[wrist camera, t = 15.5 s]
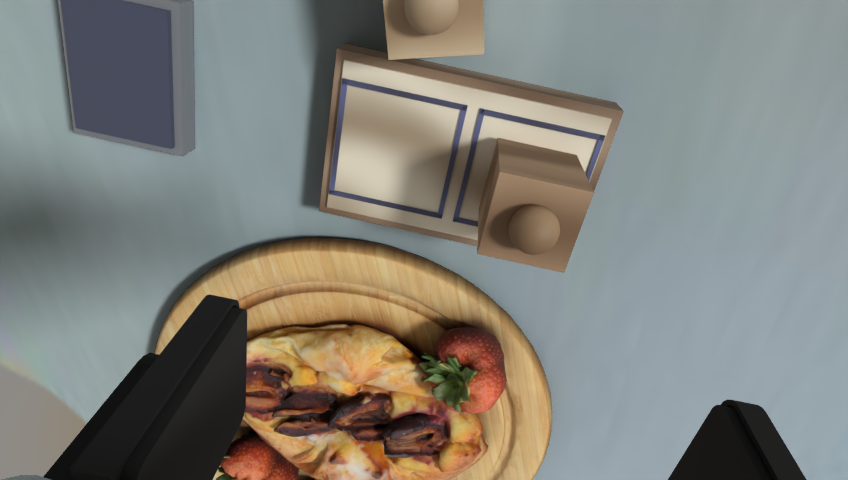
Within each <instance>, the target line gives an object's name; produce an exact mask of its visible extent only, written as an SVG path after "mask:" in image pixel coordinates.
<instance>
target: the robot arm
mask: <svg viewBox="0 0 848 480" xmlns="http://www.w3.org/2000/svg"><path fill="white" fill-rule="evenodd" d="M246 366H247V310H246V309H242V308H239V302H238V301H237V300H235V299H230V298H225V297H220V296H215V295H210V294H209V295H206V296H205V297H204V298H203V300H202V301H201V302H200V304H199V305H198V306H197V307H196V309H195V310H194V311H193V313H192V314H191V315H190V316H189V318H188V319H187V320H186V321H185V323H184V324H183V325H182V327H181V328H180V329H179V330H178V332H177V333H176V334H175V335H174V337H173V338H172V339H171V341H170V342H169V343H168V344H167V346H166V347H165V348H164V350H163V351H162V352H161V353H160V355H159V354H153V353H149V354H146V355H144V356H143V357H142V358H141V359H140V360H139V361H138V362H137V363H136V365H135V366H134V367H133V368H132V370H131V371H130V372H129V373H128V374H127V376H126V377H125V378H124V379H123V381H122V382H121V383H120V384H119V385H118V387H117V388H116V389H115V390H114V391H113V393H112V394H111V395H110V396H109V398H108V399H107V400H106V401H105V402H104V404H103V405H102V406H101V407H100V409H99V410H98V411H97V412H96V413H95V415H94V416H93V417H92V418H91V419H90V421H89V422H88V423H87V424H86V426H85V427H84V428H83V429H82V430H81V432H80V433H79V434H78V435H77V437H76V438H75V439H74V440H73V442H72V443H71V444H70V445H69V446H68V447H67V449H66V450H65V451H64V452H63V454H62V455H61V456H60V457H59V459H58V460H57V461H56V462H55V463H54V465H53V466H52V467H51V468H50V470H49V471H48V472H47V473H46V474H45V475H44V477H41V476H37V475H23V476H22V475H20V476H15V477H11V478H7V479H2V480H213V478H214V476H215V474H216V472H217V470H218V468H219V466H220V464H221V462H222V460H223V458H224V456H225V454H226V452H227V450H228V448H229V446H230V444H231V442H232V440H233V438H234V436H235V434H236V432H237V430H238V428H239V426H240V424H241V422H242V419H243V416H244V413H245V408H246ZM668 480H806V478H805V477H804V475H803V473H802V472H801V470H800V468H799V467H798V465H797V463H796V462H795V460H794V458H793V457H792V455H791V453H790V452H789V450H788V448H787V447H786V445H785V443H784V442H783V440H782V438H781V437H780V435H779V433H778V432H777V430H776V428H775V427H774V425H773V423H772V422H771V420H770V418H769V417H768V415H767V413H766V412H765V411H764V409H763V408H762V407H760V406H758V405H754V404H749V403H744V402H739V401H734V400H726V401H724V402H723V403H722V404H721V405H716V406H714V407H713V408H712V410H711V411H710V413H709V414H708V416H707V418H706V419H705V421H704V423H703V424H702V426H701V427H700V429H699V431H698V432H697V434H696V435H695V437H694V439H693V440H692V442H691V443H690V445H689V447H688V448H687V450H686V452H685V453H684V455H683V456H682V458H681V460H680V461H679V463H678V464H677V466H676V468H675V469H674V471H673V472H672V474H671V476H670V477H669V479H668Z"/></svg>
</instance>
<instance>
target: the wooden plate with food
mask: <svg viewBox="0 0 848 480" xmlns="http://www.w3.org/2000/svg"><path fill="white" fill-rule="evenodd" d="M209 294H210V295H215V296H220V297H225V298H230V299H235V300H237V301H238V302H239V308H242V309H246V310H247V366H246V408H245V413H244V416H243V419H242V422H241V424H240V426H239V428H238V430H237V432H236V434H235V436H234V438H233V440H232V442H231V444H230V446H229V448H228V450H227V452H226V454H225V456H224V458H223V460H222V462H221V464H220V466H219V468H218V470H217V472H216V474H215V476H214V478H213V480H532V479H533V478H534V476H535V475H536V474H537V472H538V470H539V468H540V466H541V464H542V462H543V459H544V457H545V454H546V451H547V448H548V445H549V440H550V435H551V427H552V403H551V394H550V389H549V386H548V382H547V379H546V375H545V372H544V370H543V367H542V365H541V362H540V360H539V358H538V356H537V354H536V352H535V350H534V348H533V346H532V344H531V343H530V342H529V340H528V339H527V337H526V336H525V335H524V333H523V332H522V330H521V329H520V328H519V326H518V325H517V324H516V323H515V321H514V320H513V319H512V318H511V316H510V315H509V314H508V313H507V312H506V311H505V310H504V309H503V308H501V307H500V306H499V305H498V304H497V303H496V302H495V301H494V300H493V299H491V298H490V297H489V296H488V295H487V294H486V293H484V292H483V291H482V290H480V289H479V288H478V287H476V286H475V285H474V284H472V283H471V282H469V281H468V280H466V279H465V278H463V277H462V276H460V275H458V274H457V273H455V272H453V271H451V270H449V269H447V268H445V267H443V266H441V265H439V264H437V263H435V262H433V261H431V260H428V259H426V258H424V257H421V256H418V255H415V254H412V253H410V252H407V251H404V250H401V249H398V248H395V247H392V246H387V245H383V244H378V243H373V242H368V241H361V240H352V239H340V238H303V239H292V240H286V241H280V242H275V243H270V244H267V245H263V246H260V247H256V248H254V249H251V250H248V251H245V252H242V253H240V254H238V255H236V256H234V257H232V258H230V259H228V260H226V261H224V262H222V263H220V264H218V265H217V266H215V267H214V268H212V269H211V270H209V271H208V272H206V273H205V274H203V275H202V276H201V277H200V278H199V279H197V280H196V281H195V282H194V283H193V284H191V285H190V286H189V287H188V288H187V290H186V291H185V292H184V293H183V294H182V295H181V296H180V298H179V299H178V300H177V302H176V303H175V304H174V305H173V307H172V308H171V310H170V312H169V314H168V316H167V318H166V320H165V322H164V324H163V326H162V328H161V331H160V334H159V337H158V341H157V344H156V348H155V353H154V354H159V355H160V353H161V352H162V351H163V350H164V348H165V347H166V346H167V344H168V343H169V342H170V341H171V339H172V338H173V337H174V335H175V334H176V333H177V332H178V330H179V329H180V328H181V327H182V325H183V324H184V323H185V321H186V320H187V319H188V318H189V316H190V315H191V314H192V313H193V311H194V310H195V309H196V307H197V306H198V305H199V304H200V302H201V301H202V300H203V298H204V297H205V296H206V295H209Z"/></svg>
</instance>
